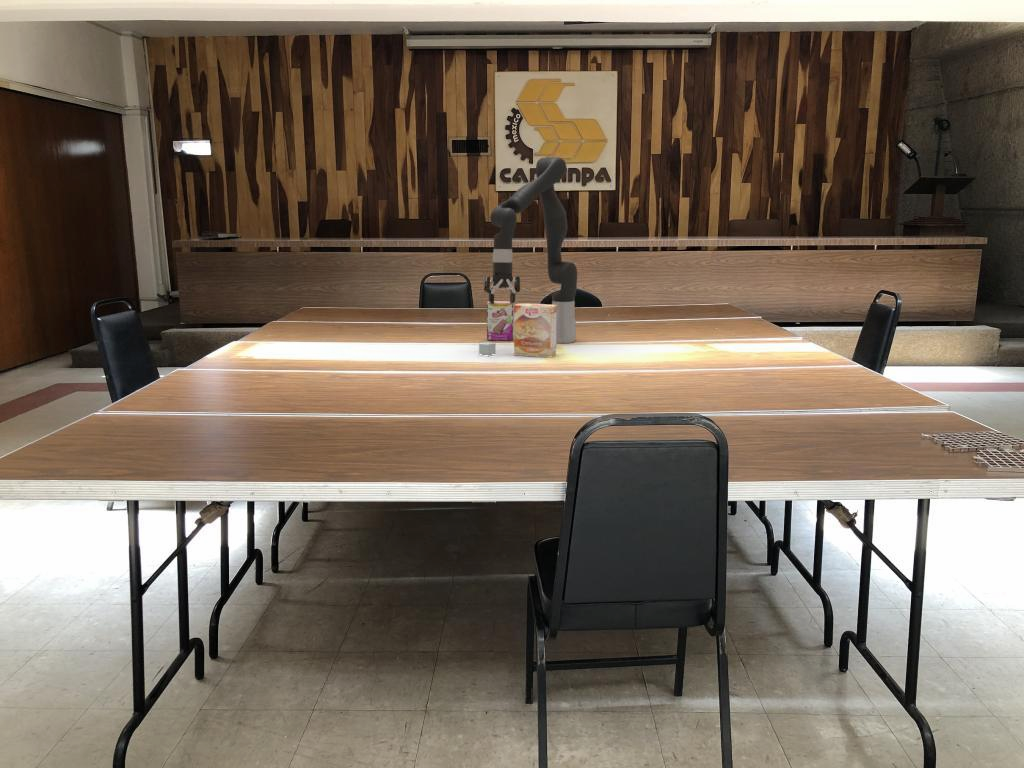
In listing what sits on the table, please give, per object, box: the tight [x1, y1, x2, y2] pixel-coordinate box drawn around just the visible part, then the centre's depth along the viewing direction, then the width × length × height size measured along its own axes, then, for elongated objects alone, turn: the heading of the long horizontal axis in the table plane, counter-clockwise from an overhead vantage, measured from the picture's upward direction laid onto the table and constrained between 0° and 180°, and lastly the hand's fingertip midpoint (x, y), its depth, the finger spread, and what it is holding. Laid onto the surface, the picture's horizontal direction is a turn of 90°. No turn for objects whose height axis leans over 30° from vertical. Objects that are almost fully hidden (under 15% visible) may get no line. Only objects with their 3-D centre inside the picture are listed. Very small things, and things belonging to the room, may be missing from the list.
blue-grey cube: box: [478, 341, 497, 356], centre depth 328 cm, size 4×4×4 cm
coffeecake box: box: [513, 302, 557, 358], centre depth 325 cm, size 15×7×20 cm, turn 67°
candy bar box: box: [486, 300, 515, 341], centre depth 359 cm, size 11×5×16 cm, turn 84°
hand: (502, 303), depth 328 cm, fingers open, 8 cm apart
